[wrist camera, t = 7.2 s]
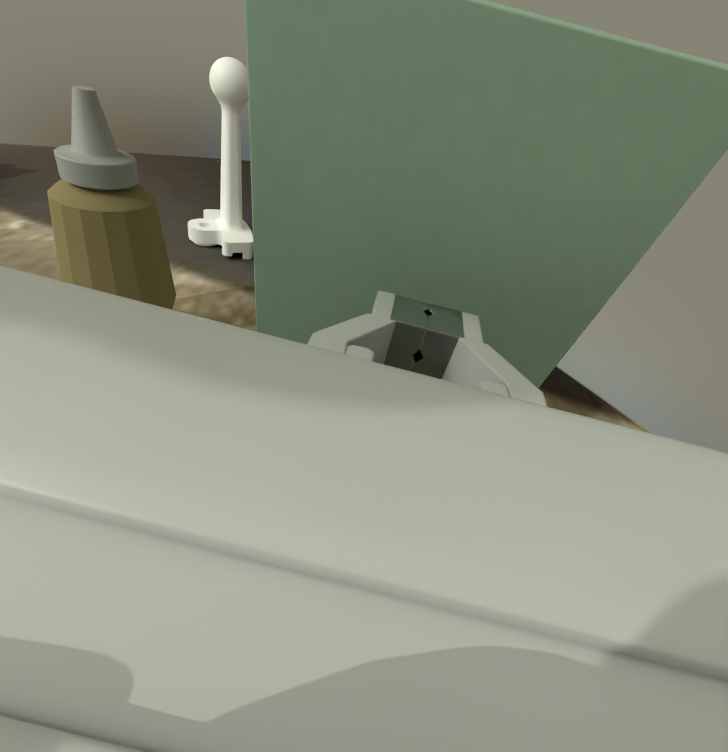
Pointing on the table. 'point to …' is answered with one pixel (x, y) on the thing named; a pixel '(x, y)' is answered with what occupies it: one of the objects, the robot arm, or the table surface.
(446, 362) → the robot arm
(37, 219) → the table surface
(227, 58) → the joystick
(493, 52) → the green box lid
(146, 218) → the squeeze bottle
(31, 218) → the table surface
